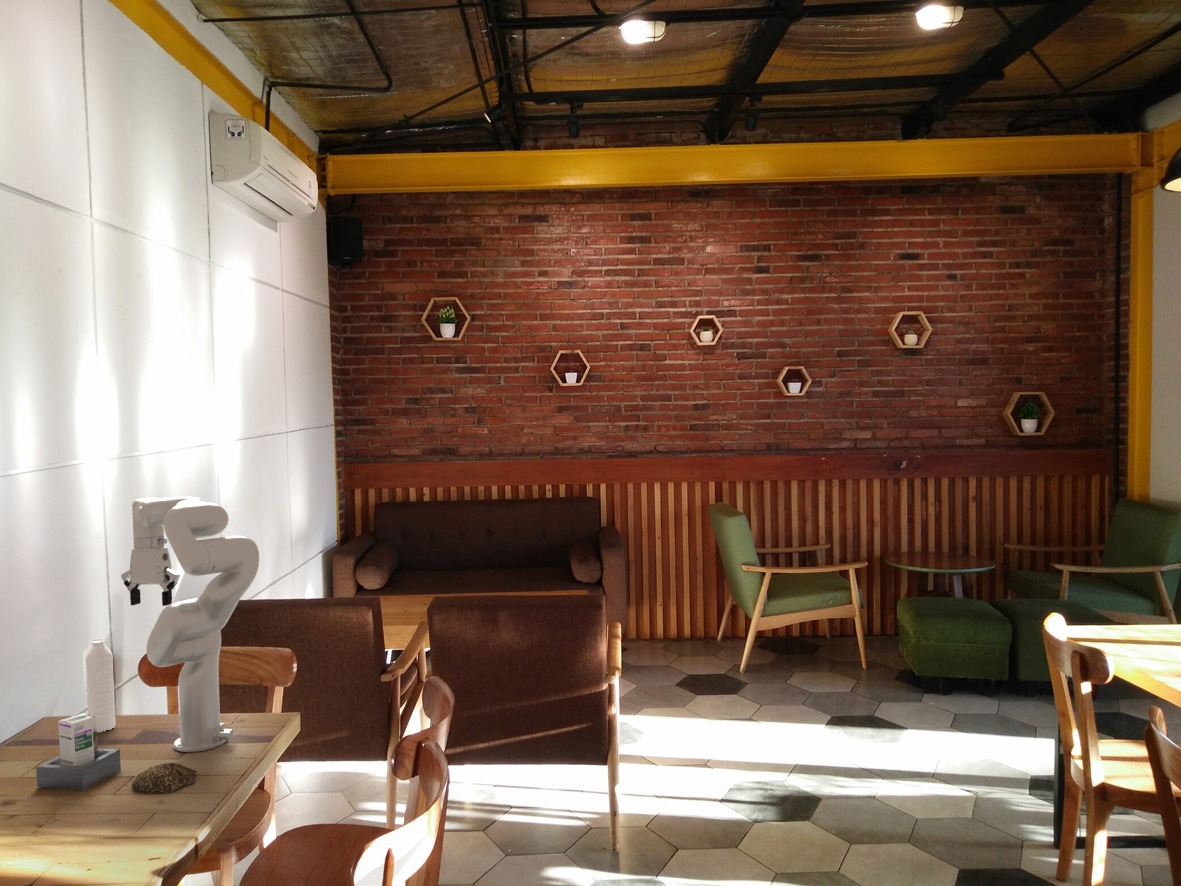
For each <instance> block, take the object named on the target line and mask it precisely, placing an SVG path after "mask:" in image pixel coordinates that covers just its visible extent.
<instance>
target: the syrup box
mask: <svg viewBox="0 0 1181 886" xmlns="http://www.w3.org/2000/svg"><path fill="white" fill-rule="evenodd" d="M58 736H59V755H60V758H61V765H67V766H83V765H85V764H87V763H89V762H91V761H92V760H94V759H96V758H98V732H97V727H96V717H95V716H93V715H90V714H88V713H83V712H82V713H80V714H76V715H73V716H69V717H68V718H64V719H59V720H58Z"/></svg>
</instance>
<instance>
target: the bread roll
mask: <svg viewBox="0 0 1181 886" xmlns="http://www.w3.org/2000/svg"><path fill="white" fill-rule="evenodd" d="M196 776H197V770H196V769H193V768H190V767H187V766H186V765H182V764H181V763H178V762H177V763H175V762H166V763H160V764H156V765H154V766H153V765H151V766H150V767H148V768H146V770H143V771H142V772H140V773H139V774H137V777H135V779H134V780H133V782H132V784H131V789H132V790H133V791H135V792H138V793H139V794H140V793H143V794H149V795H151V794H152V795H153V794H167V793H168V794H169V793H172V792H175V791H176V790H179V789H180V788H182V787H184V786H186V785H187V786H190V785H191V786H192V785H194V784H196V781H197V778H196Z"/></svg>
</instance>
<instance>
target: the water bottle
mask: <svg viewBox="0 0 1181 886" xmlns="http://www.w3.org/2000/svg"><path fill="white" fill-rule="evenodd" d="M85 656H86V657H85V671H86V674H85V675H86V693H87V694H86V699H87V704H86V705H87V714H90V715H93V716H95V717H96V727H97V733H104V732H107V731H106V730H109V731H111V730H112V728H113V729H115V728H116V711H115V709H116V708H115V707H116V705H115V690H114V689H115V683H114V679H115V678H114V662H113V661H114V656H113V652H112V651H111V650H110V648H109V647H108V646H107V645H106V644H105V640H104V637H97V638H94V639H93V641H92V646H91V648H90V649H89V651H88V652H87V654H86V655H85ZM103 731H104V732H103Z"/></svg>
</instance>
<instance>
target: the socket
mask: <svg viewBox="0 0 1181 886" xmlns="http://www.w3.org/2000/svg"><path fill="white" fill-rule="evenodd" d="M97 748H98V747H97ZM35 769H36V772H35V773H36V787H39V788H38V789H40V788H48V789H47V790H57V789H62V790H63V791H75V792H76V791H77V792H78V791H79V792H84V791H86V790H87V789H89V788H91V787H93V786H94V784H95V785H96V783H97V784H99V783H100V782H102V781H103V780H106V779H107V778H109V777H111V776H112V775H114V774H116V773H118V772H119V770H120V771H121V770H122V766H121V749H119V748H102V747H99V748H98V758H96V759H94V760H92V761H91V762H89V763H87V764H85V765H83V766H67V765H61V758H60V754H59V755H57V756H56V757H55V756H54V757H53V758H51V759H50V760H47V761H45V762H43V763H41V764H39V765H37V766H36V767H35ZM110 775H111V776H110ZM49 788H50V789H49ZM62 790H61V791H62Z"/></svg>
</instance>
